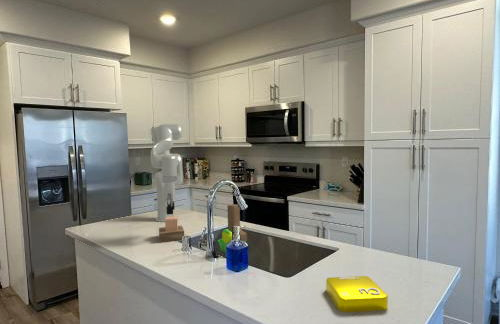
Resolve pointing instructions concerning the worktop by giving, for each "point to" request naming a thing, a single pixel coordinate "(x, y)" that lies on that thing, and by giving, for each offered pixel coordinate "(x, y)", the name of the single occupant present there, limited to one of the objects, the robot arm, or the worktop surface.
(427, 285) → the worktop surface
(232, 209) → the wooden block
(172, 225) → the terracotta cube
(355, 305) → the element tile
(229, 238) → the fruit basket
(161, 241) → the walnut base block
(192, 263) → the worktop surface
